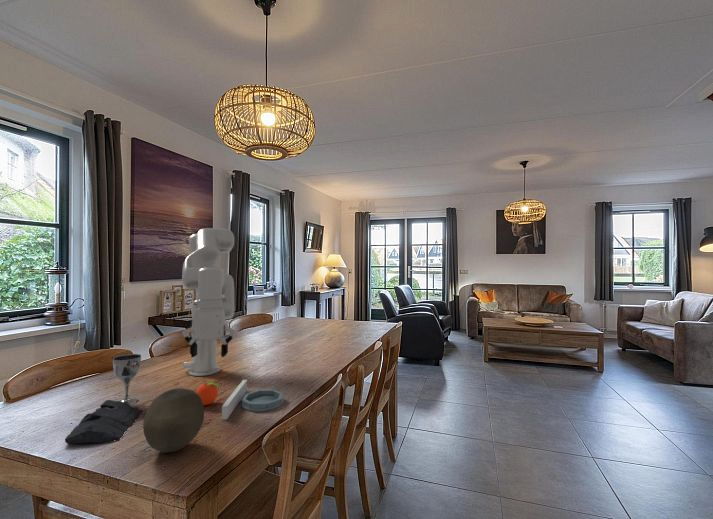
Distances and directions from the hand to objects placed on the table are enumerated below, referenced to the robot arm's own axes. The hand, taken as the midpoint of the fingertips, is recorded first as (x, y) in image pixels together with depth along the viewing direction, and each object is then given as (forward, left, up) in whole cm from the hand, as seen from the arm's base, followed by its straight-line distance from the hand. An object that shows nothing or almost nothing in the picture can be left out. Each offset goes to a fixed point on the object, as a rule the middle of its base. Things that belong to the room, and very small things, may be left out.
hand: (209, 356), depth 116 cm
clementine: (0, 0, -16) cm, 16 cm away
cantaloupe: (+2, -29, -16) cm, 33 cm away
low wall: (+9, 0, -16) cm, 18 cm away
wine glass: (-28, +3, -16) cm, 33 cm away
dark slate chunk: (-24, -15, -17) cm, 33 cm away
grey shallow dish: (+18, 0, -16) cm, 24 cm away
